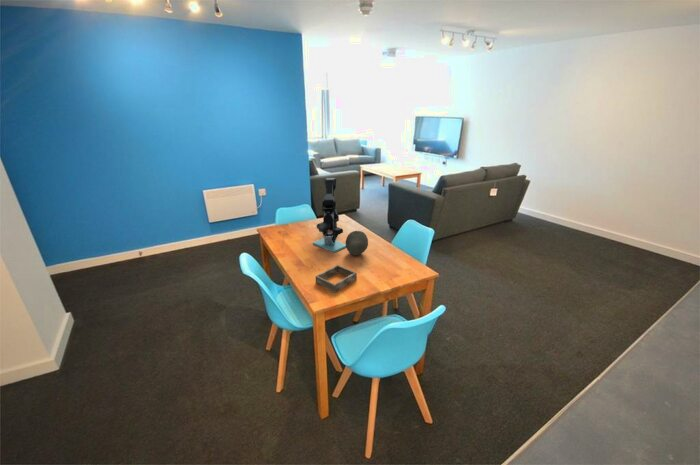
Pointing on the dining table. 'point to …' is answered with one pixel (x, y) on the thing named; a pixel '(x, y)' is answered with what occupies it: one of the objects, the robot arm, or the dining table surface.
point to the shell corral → (339, 285)
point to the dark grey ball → (356, 242)
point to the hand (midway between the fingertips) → (329, 240)
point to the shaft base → (330, 245)
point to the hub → (328, 238)
